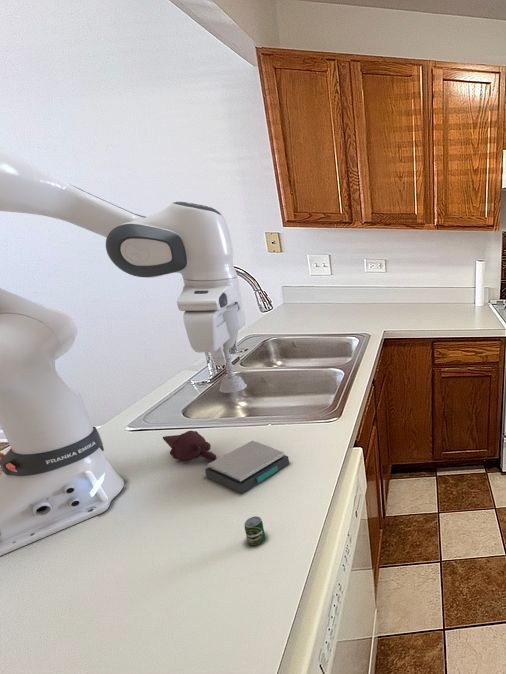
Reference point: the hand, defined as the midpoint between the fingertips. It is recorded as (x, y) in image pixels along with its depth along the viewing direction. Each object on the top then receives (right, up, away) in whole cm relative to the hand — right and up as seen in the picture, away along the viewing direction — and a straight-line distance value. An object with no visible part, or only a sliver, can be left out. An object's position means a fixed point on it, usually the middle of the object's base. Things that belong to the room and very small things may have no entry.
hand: (227, 358), depth 82 cm
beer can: (+11, -34, -9) cm, 37 cm away
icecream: (-18, -24, +14) cm, 33 cm away
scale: (-1, -26, +10) cm, 28 cm away
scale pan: (-1, -23, +9) cm, 25 cm away
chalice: (0, -6, +2) cm, 7 cm away
